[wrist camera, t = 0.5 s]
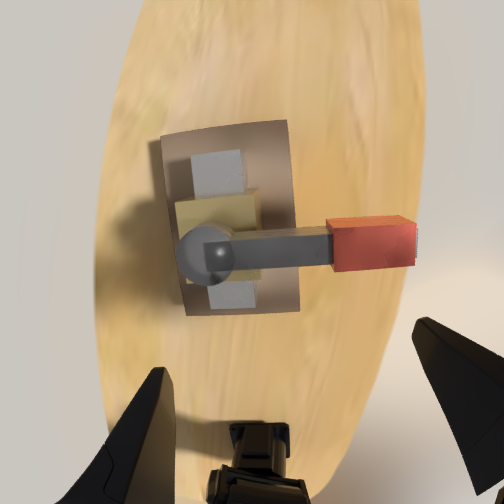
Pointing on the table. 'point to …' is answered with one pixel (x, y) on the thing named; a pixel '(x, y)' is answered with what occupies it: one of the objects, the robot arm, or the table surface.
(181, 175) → the mounting board
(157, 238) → the table surface
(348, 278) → the table surface
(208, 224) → the lever
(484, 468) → the robot arm
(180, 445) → the table surface
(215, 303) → the valve
